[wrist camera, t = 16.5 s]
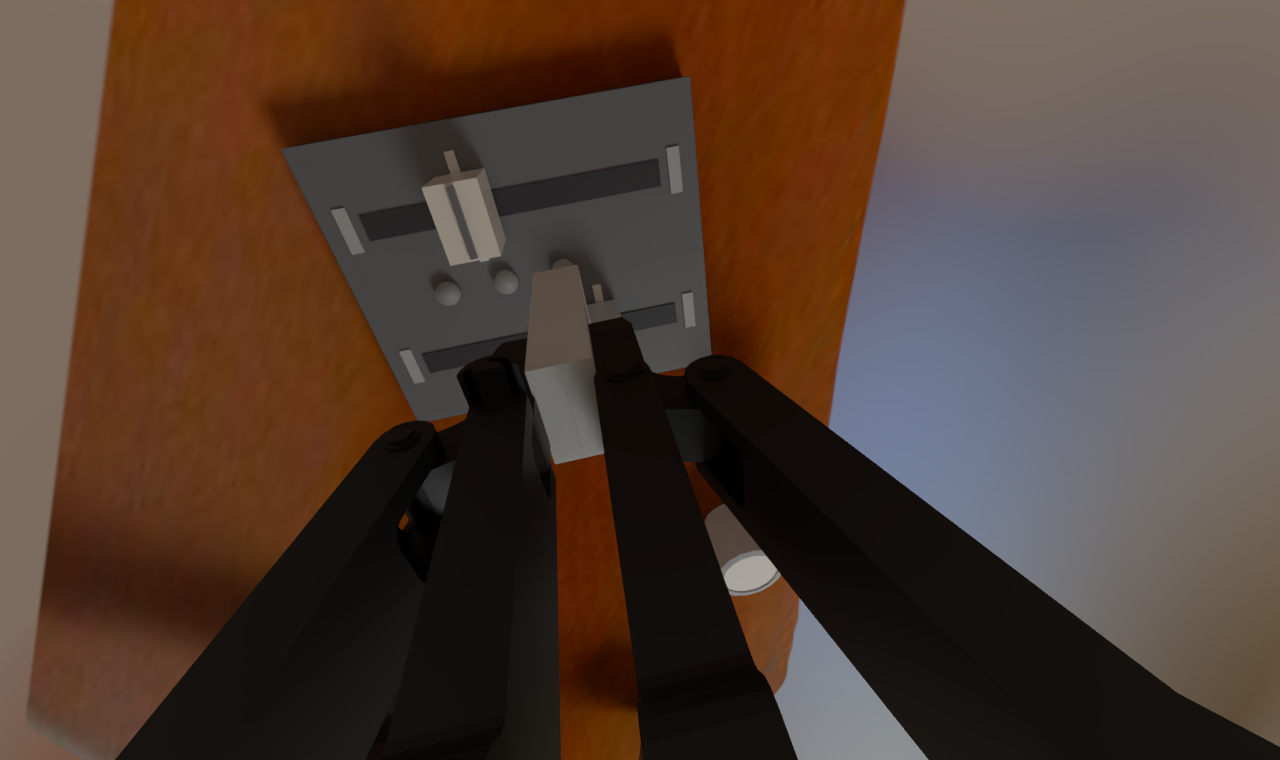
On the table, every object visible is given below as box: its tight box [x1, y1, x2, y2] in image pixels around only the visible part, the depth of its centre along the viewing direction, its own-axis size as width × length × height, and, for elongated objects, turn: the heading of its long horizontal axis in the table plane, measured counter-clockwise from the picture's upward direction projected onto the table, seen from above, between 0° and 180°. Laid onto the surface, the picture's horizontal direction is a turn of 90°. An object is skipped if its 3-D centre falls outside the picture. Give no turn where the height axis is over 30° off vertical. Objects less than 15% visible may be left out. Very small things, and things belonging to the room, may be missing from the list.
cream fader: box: [422, 168, 506, 266], centre depth 29 cm, size 3×4×4 cm
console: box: [281, 76, 711, 421], centre depth 34 cm, size 24×20×3 cm
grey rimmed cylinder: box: [705, 504, 781, 596], centre depth 50 cm, size 7×7×7 cm
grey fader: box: [587, 299, 621, 323], centre depth 34 cm, size 3×4×4 cm
